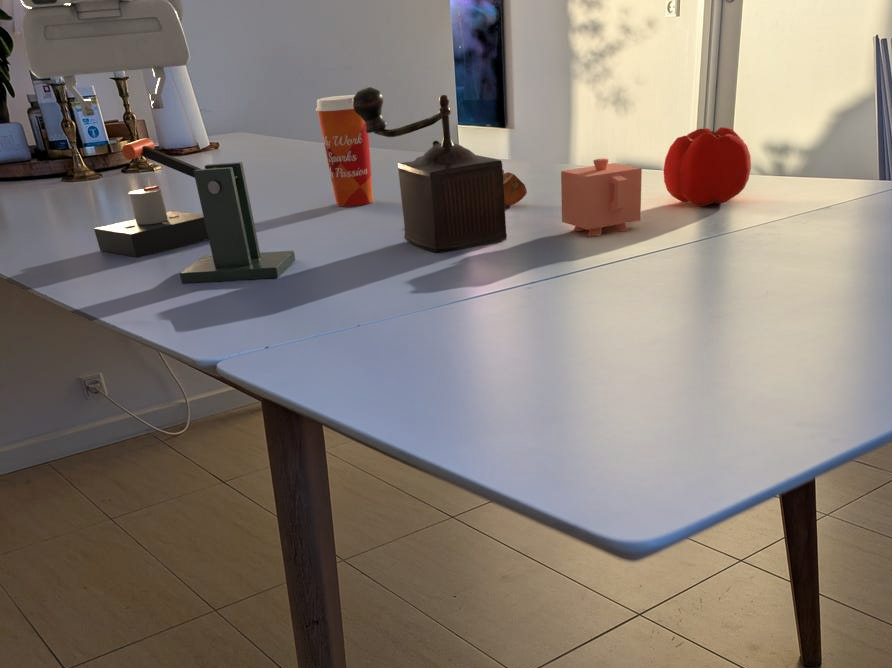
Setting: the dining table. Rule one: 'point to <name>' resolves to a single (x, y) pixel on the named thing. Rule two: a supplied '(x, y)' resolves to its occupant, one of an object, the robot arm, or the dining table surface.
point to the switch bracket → (231, 231)
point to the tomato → (707, 166)
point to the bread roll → (512, 189)
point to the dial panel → (152, 235)
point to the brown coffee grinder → (443, 185)
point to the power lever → (157, 156)
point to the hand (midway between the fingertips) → (124, 112)
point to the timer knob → (148, 206)
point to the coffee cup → (346, 150)
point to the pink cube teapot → (601, 196)
